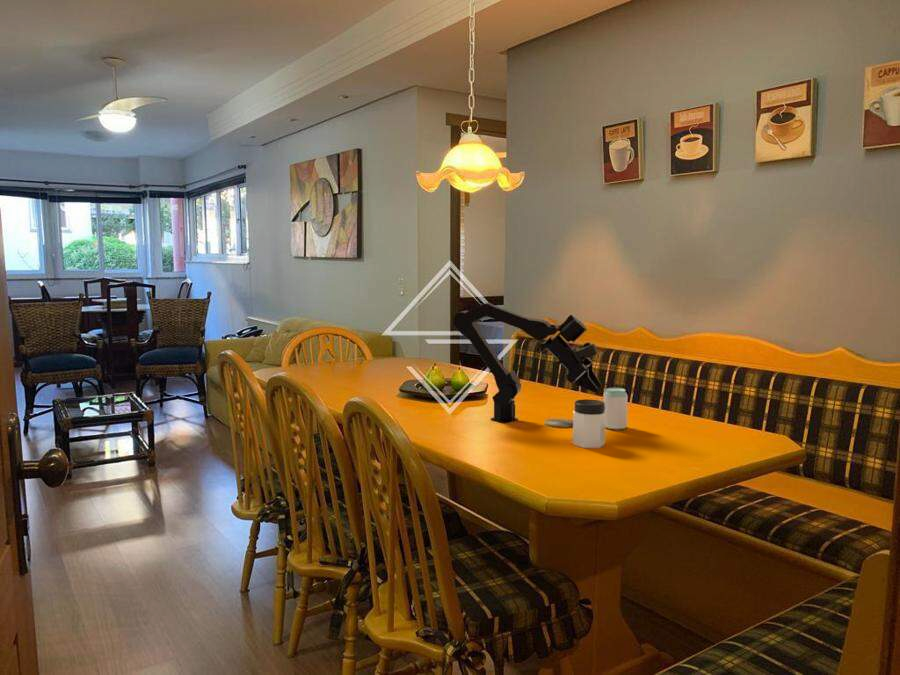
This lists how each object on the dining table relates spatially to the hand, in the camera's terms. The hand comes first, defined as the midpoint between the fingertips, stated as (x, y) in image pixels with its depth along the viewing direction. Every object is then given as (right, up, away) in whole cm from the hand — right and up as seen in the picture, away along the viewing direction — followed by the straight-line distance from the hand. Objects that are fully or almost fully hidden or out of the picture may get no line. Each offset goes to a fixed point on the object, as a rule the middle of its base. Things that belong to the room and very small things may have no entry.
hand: (599, 389), depth 207 cm
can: (+5, -12, 0) cm, 13 cm away
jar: (-7, -14, -19) cm, 25 cm away
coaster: (-11, -11, +5) cm, 17 cm away
